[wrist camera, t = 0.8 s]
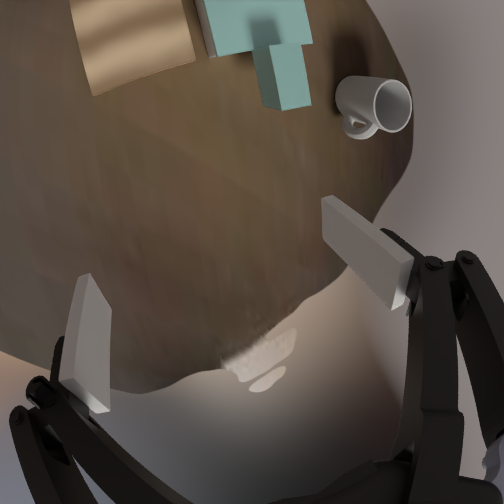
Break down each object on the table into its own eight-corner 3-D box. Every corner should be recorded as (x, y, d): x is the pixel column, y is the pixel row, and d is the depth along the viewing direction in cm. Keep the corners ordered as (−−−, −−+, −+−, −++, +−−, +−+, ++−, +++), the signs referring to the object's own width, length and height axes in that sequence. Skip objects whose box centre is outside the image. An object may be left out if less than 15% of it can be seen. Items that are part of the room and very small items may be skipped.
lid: (187, -52, 16) (196, -73, 12) (281, -57, 18) (303, -74, 13) (228, 113, 29) (243, 119, 24) (315, 95, 30) (342, 100, 26)
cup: (377, 93, 38) (418, 102, 31) (348, 142, 41) (386, 159, 34) (347, 65, 34) (389, 68, 27) (315, 118, 38) (353, 129, 31)
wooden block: (74, 2, 19) (68, -4, 16) (169, -30, 21) (171, -39, 18) (97, 95, 27) (92, 96, 25) (192, 62, 29) (196, 60, 26)
